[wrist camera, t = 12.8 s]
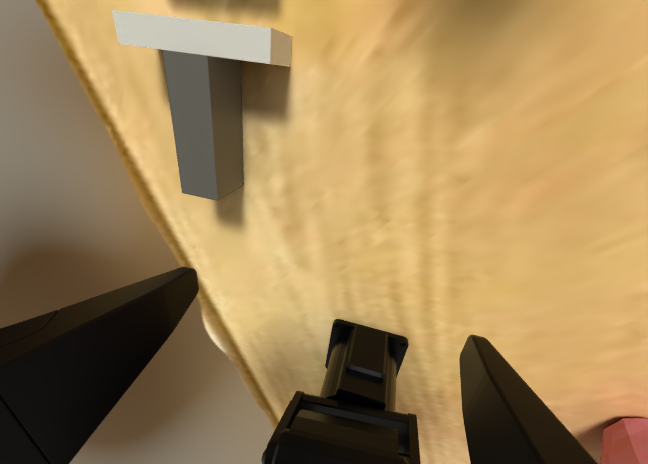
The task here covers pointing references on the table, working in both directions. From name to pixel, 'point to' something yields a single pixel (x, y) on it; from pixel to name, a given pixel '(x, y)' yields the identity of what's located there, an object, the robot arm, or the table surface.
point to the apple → (625, 442)
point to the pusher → (205, 89)
